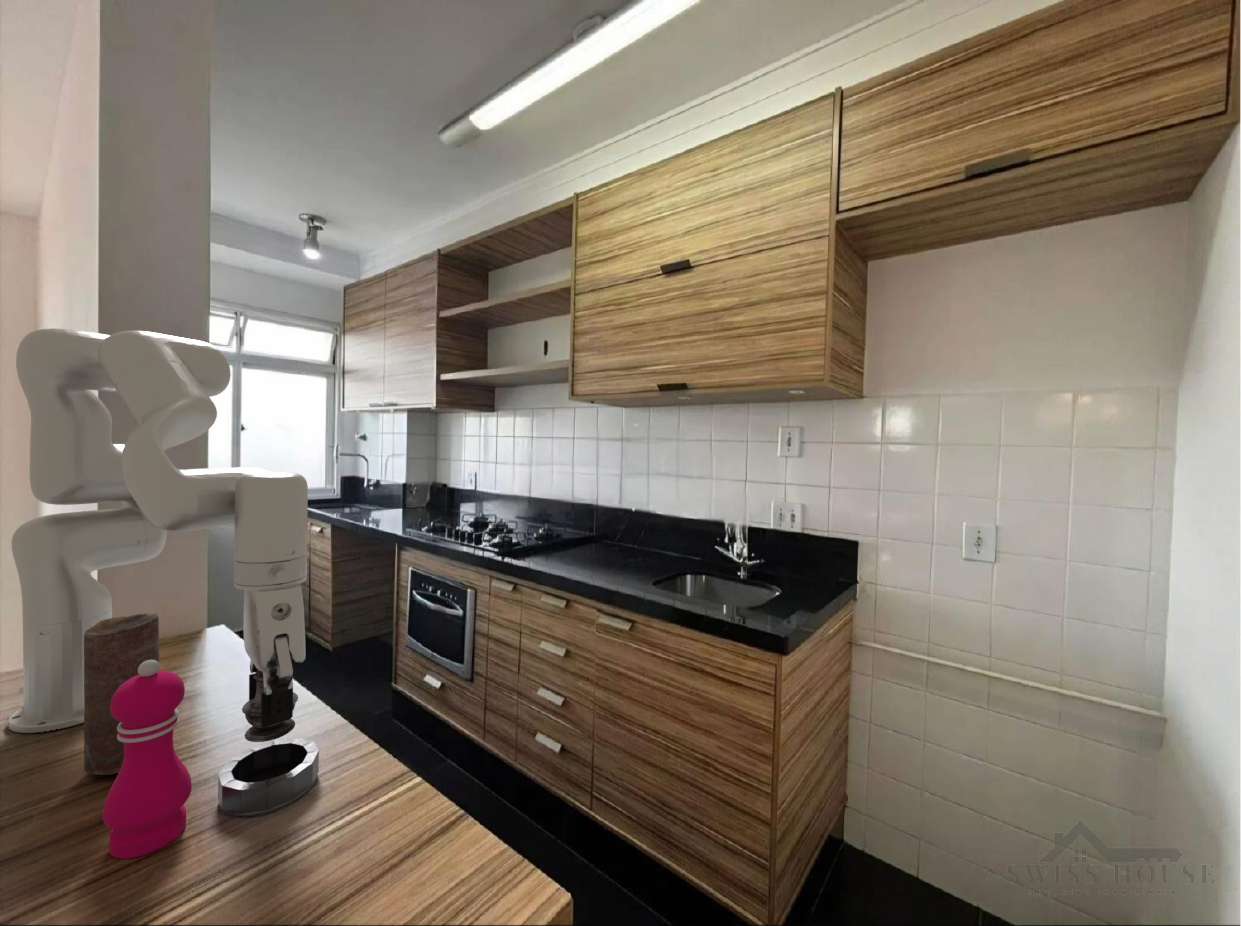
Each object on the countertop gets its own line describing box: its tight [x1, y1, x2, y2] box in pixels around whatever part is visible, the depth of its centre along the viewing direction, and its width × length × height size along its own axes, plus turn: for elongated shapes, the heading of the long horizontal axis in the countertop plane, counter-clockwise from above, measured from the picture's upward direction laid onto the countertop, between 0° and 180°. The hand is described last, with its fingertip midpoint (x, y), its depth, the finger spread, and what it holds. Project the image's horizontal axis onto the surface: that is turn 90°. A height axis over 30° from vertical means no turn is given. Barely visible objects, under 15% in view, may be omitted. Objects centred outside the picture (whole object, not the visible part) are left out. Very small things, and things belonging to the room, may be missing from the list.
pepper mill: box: [102, 660, 193, 860], centre depth 56 cm, size 7×7×20 cm
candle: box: [83, 612, 160, 776], centre depth 68 cm, size 8×7×20 cm
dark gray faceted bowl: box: [217, 737, 320, 819], centre depth 65 cm, size 10×10×4 cm
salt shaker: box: [241, 661, 299, 743], centre depth 64 cm, size 6×6×12 cm
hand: (270, 710), depth 64 cm, fingers closed on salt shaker, 5 cm apart
